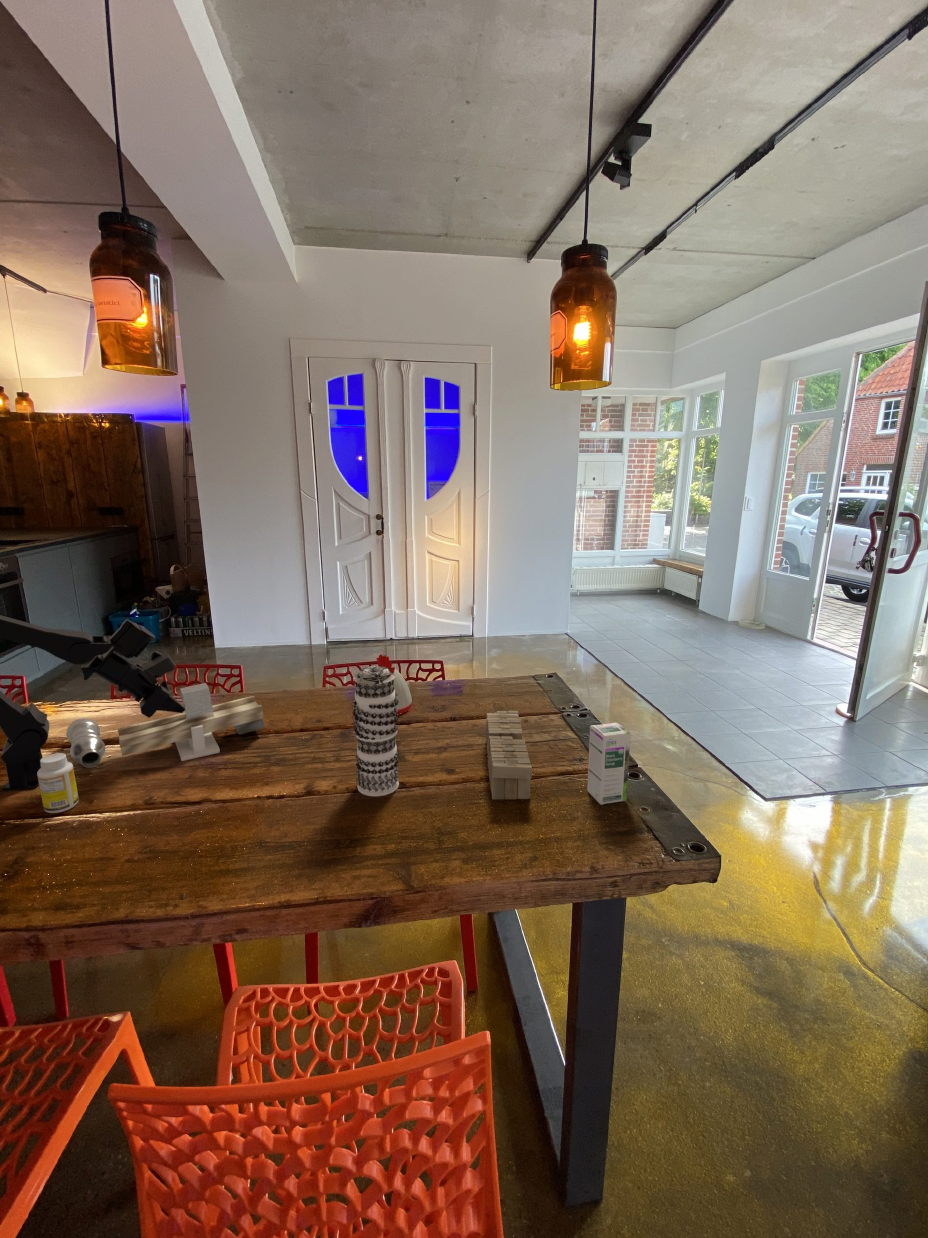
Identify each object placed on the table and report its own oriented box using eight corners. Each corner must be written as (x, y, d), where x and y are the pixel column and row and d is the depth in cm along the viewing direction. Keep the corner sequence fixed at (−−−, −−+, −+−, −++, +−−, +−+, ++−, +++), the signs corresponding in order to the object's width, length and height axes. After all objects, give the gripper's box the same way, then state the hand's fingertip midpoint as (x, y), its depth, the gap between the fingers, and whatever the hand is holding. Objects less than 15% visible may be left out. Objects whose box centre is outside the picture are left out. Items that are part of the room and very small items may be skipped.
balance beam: (125, 768, 123) (119, 742, 121) (123, 753, 130) (117, 729, 128) (265, 729, 138) (262, 706, 137) (257, 718, 145) (253, 695, 144)
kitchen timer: (394, 695, 168) (393, 646, 164) (421, 708, 157) (420, 657, 154) (352, 706, 159) (350, 655, 156) (378, 721, 149) (376, 667, 145)
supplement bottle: (67, 796, 112) (59, 748, 110) (85, 802, 110) (77, 754, 107) (37, 810, 107) (27, 760, 105) (55, 817, 105) (46, 767, 102)
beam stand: (181, 761, 126) (178, 733, 125) (173, 738, 138) (170, 713, 136) (219, 752, 131) (217, 725, 129) (209, 731, 142) (206, 706, 141)
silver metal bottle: (87, 746, 137) (97, 778, 122) (58, 734, 133) (64, 767, 118) (104, 722, 139) (116, 752, 123) (76, 711, 134) (85, 740, 119)
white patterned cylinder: (407, 777, 120) (404, 664, 114) (390, 800, 111) (386, 679, 105) (367, 772, 122) (363, 660, 116) (347, 793, 113) (342, 674, 108)
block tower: (485, 743, 139) (490, 804, 110) (486, 710, 137) (491, 763, 108) (517, 743, 139) (531, 804, 110) (518, 710, 137) (532, 763, 108)
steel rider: (188, 726, 130) (182, 694, 128) (186, 720, 134) (179, 688, 132) (214, 719, 133) (208, 688, 131) (211, 713, 137) (205, 682, 135)
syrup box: (600, 806, 109) (604, 736, 106) (586, 790, 115) (589, 723, 112) (626, 801, 111) (631, 732, 108) (611, 786, 116) (615, 720, 113)
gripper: (152, 654, 117) (214, 695, 125) (145, 635, 132) (201, 672, 141) (113, 698, 115) (179, 736, 123) (110, 673, 130) (169, 708, 138)
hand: (183, 710), depth 131 cm, fingers closed, pressing on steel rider
